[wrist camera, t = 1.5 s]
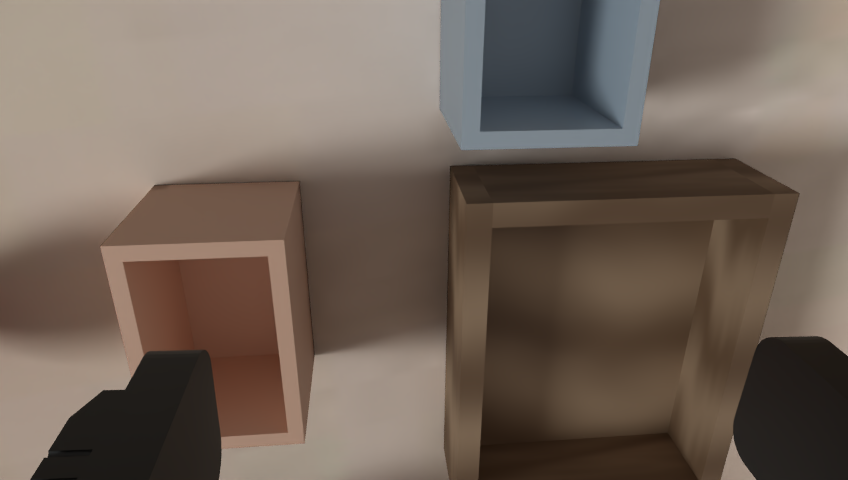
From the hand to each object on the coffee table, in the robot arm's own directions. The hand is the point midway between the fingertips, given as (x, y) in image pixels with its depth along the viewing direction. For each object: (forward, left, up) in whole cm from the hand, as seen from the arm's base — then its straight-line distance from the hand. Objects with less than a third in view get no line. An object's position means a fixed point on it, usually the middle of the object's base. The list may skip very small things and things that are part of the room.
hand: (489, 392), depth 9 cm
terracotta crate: (+7, -8, -18) cm, 21 cm away
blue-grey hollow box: (-5, +4, -18) cm, 19 cm away
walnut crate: (+10, +8, -18) cm, 23 cm away
